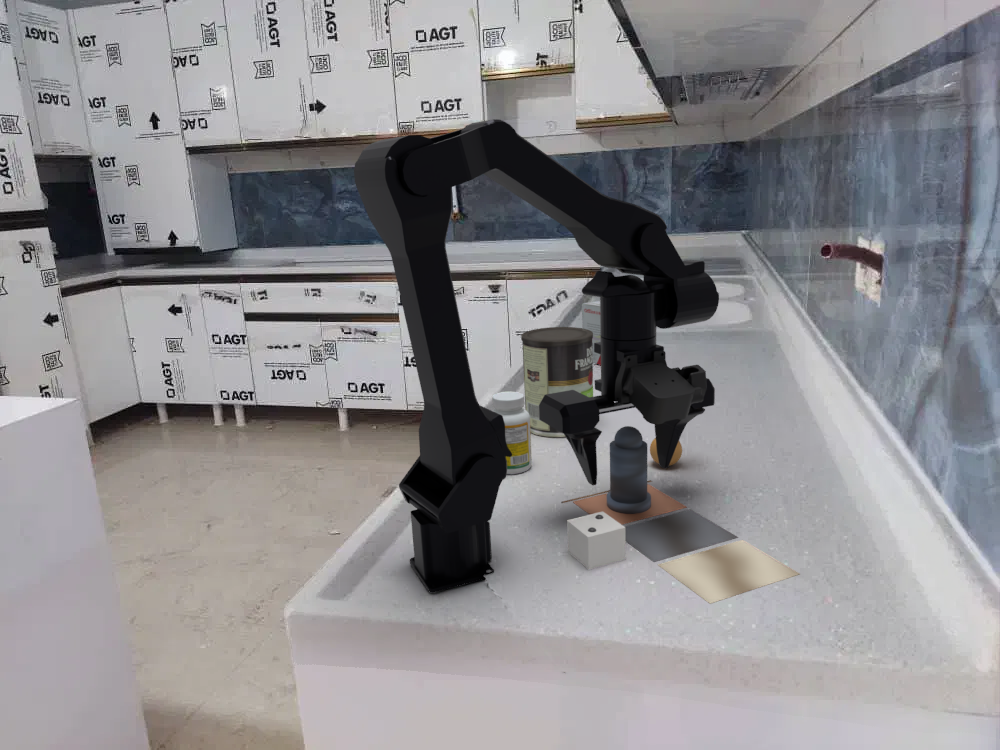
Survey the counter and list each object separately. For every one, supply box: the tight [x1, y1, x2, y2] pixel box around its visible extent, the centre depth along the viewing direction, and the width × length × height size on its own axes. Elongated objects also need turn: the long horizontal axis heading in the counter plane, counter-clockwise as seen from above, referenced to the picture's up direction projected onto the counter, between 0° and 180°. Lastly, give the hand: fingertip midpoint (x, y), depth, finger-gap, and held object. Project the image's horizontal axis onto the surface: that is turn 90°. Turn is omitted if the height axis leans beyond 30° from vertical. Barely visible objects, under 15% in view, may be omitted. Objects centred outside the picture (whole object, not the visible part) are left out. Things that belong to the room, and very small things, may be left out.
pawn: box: [607, 425, 651, 514], centre depth 81 cm, size 5×5×9 cm
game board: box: [561, 480, 801, 605], centre depth 75 cm, size 12×25×1 cm, turn 24°
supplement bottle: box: [491, 391, 533, 475], centre depth 95 cm, size 5×5×10 cm
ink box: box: [581, 300, 601, 366], centre depth 145 cm, size 9×5×12 cm, turn 34°
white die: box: [566, 511, 627, 571], centre depth 71 cm, size 4×4×4 cm
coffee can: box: [520, 326, 594, 438], centre depth 109 cm, size 10×10×14 cm
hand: (628, 475), depth 81 cm, fingers open, 9 cm apart
